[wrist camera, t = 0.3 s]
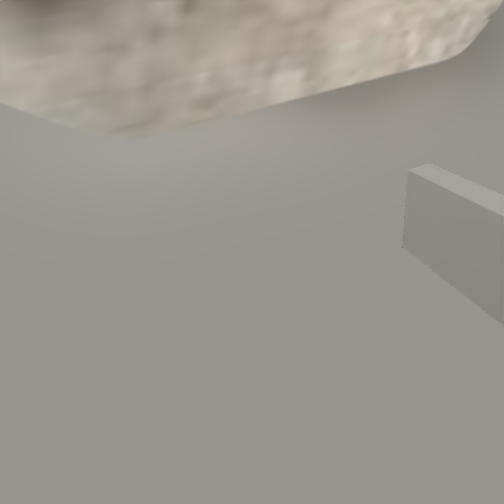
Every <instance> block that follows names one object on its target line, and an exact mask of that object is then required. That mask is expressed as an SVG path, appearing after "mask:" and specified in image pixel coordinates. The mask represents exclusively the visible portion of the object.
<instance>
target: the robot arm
mask: <svg viewBox="0 0 504 504" xmlns="http://www.w3.org/2000/svg"><path fill="white" fill-rule="evenodd" d="M402 248H404V249H405V250H406V251H407V252H409V253H410V254H411V255H413V256H414V257H415V258H416V259H418V260H419V261H420V262H422V263H423V264H424V265H425V266H427V267H428V268H429V269H431V270H432V271H433V272H434V273H436V274H437V275H438V276H440V277H441V278H442V279H443V280H445V281H446V282H447V283H449V284H450V285H451V286H452V287H454V288H455V289H456V290H458V291H459V292H460V293H461V294H463V295H464V296H465V297H467V298H468V299H469V300H471V301H472V302H473V303H474V304H476V305H477V306H478V307H479V308H481V309H482V310H483V311H485V312H486V313H487V314H488V315H490V316H491V317H492V318H494V319H495V320H496V321H497V322H499V323H500V324H501V325H503V326H504V195H501V194H499V193H497V192H494V191H492V190H490V189H487V188H485V187H483V186H481V185H478V184H476V183H474V182H471V181H469V180H467V179H464V178H462V177H460V176H458V175H455V174H453V173H451V172H448V171H446V170H444V169H441V168H439V167H437V166H434V165H432V164H426V165H423V166H419V167H415V168H412V169H408V171H407V185H406V199H405V214H404V229H403V244H402Z"/></svg>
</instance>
